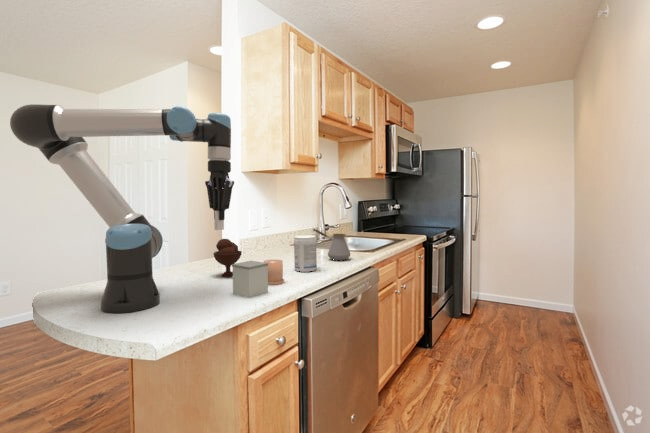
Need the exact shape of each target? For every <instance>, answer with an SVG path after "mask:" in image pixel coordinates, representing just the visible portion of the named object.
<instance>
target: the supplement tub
mask: <svg viewBox="0 0 650 433" xmlns="http://www.w3.org/2000/svg"><path fill="white" fill-rule="evenodd" d="M293 238H294V239H293V251H294V252H293V253H294V255H293V257H294V258H293V259H294V260H293V261H294V270H295V271H296V272H299V271H300V272H301V273H307V272H308V273H310V271H312V272H315V271H316V270H317V268H318V265H317V264H318V260H317V238H316V235H311V234H310V235H309V234H307V235H306V234H305V235H302V234H301V235H295V236H294V237H293Z"/></svg>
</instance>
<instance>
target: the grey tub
mask: <svg viewBox="0 0 650 433" xmlns="http://www.w3.org/2000/svg"><path fill="white" fill-rule="evenodd" d="M231 267H232V272H233V276H232V294H233V295H237V296H240V297H245V298H254V297H256V296H260V295H263V294H267V293H269V285H268V263H264V261H263V262H262V261H257V260H246V261H242V262H236V263H235V264H232V265H231Z"/></svg>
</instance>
